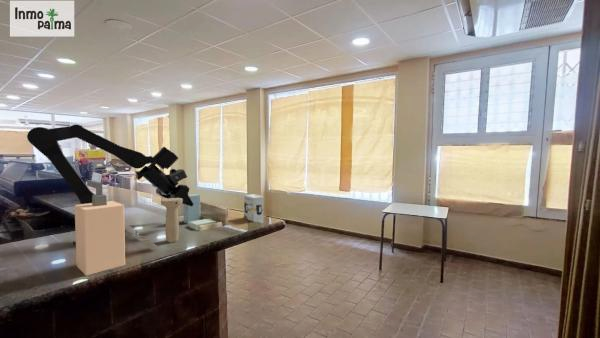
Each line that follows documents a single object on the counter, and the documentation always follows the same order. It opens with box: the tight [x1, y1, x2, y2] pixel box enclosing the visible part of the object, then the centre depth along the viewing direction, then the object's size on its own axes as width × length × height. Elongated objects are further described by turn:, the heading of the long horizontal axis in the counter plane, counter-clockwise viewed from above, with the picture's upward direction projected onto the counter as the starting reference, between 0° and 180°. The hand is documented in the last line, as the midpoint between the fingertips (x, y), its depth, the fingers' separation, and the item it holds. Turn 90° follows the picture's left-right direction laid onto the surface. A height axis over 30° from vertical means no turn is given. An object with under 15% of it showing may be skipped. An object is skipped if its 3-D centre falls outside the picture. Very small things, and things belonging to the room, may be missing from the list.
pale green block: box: [188, 218, 217, 231], centre depth 107 cm, size 8×6×2 cm
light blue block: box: [182, 193, 201, 225], centre depth 113 cm, size 5×4×12 cm
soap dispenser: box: [74, 179, 126, 276], centre depth 74 cm, size 13×9×22 cm
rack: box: [178, 201, 229, 232], centre depth 112 cm, size 12×20×8 cm, turn 47°
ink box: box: [243, 193, 264, 224], centre depth 120 cm, size 9×5×12 cm, turn 42°
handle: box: [160, 198, 183, 243], centre depth 89 cm, size 5×6×15 cm
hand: (187, 203), depth 111 cm, fingers open, 9 cm apart
